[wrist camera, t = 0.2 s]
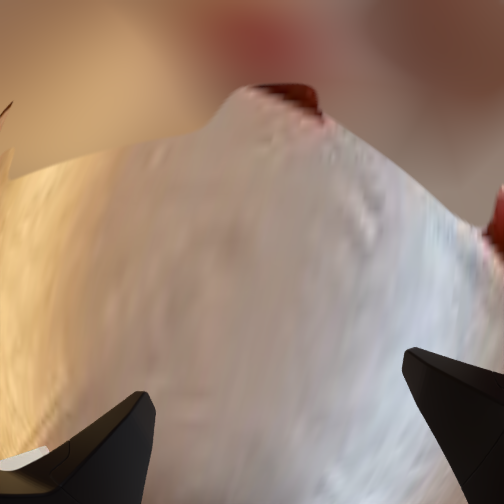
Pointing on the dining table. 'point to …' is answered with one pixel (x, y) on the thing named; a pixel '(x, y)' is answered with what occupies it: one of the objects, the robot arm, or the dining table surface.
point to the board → (23, 459)
